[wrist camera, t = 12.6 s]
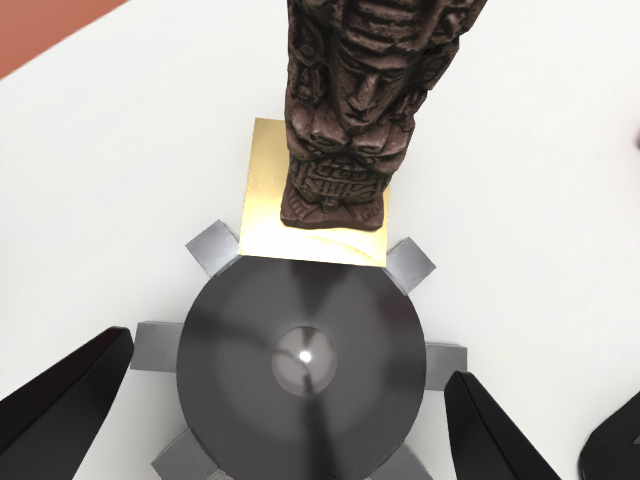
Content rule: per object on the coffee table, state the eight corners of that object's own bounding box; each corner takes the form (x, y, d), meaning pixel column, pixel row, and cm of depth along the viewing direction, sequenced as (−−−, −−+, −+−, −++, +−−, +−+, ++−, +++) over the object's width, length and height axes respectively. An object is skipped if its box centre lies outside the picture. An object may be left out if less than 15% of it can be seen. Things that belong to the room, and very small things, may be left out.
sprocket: (457, 543, 21) (476, 572, 18) (111, 527, 20) (87, 555, 17) (458, 147, 25) (473, 133, 23) (181, 118, 24) (170, 100, 22)
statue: (280, 228, 22) (123, -316, 3) (287, 132, 23) (220, -729, 4) (379, 234, 23) (921, -202, 3) (380, 139, 24) (764, -614, 4)
